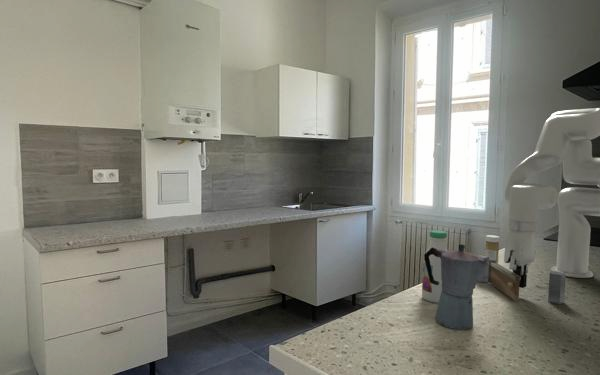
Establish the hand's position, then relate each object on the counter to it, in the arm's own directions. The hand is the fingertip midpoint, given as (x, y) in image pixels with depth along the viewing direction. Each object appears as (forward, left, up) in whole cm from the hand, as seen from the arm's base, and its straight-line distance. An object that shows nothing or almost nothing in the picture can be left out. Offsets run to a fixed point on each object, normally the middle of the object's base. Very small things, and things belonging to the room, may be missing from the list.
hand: (519, 286), depth 119 cm
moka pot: (+35, +1, -3) cm, 35 cm away
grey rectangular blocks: (-4, -3, -3) cm, 6 cm away
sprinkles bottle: (-18, -19, -3) cm, 26 cm away
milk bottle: (+24, -12, -3) cm, 27 cm away
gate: (+1, -5, -2) cm, 6 cm away
